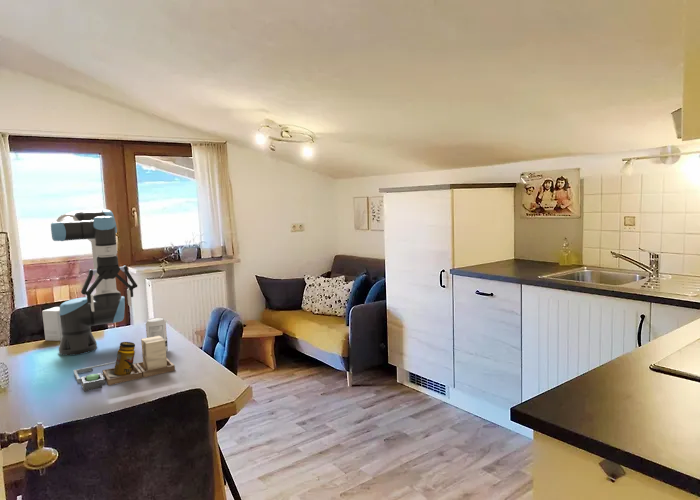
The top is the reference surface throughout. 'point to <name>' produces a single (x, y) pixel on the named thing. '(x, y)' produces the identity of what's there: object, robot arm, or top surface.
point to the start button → (92, 377)
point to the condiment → (123, 360)
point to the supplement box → (52, 324)
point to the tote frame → (87, 370)
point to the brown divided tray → (137, 373)
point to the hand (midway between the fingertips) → (111, 308)
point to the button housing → (92, 383)
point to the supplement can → (157, 329)
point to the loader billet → (153, 353)
